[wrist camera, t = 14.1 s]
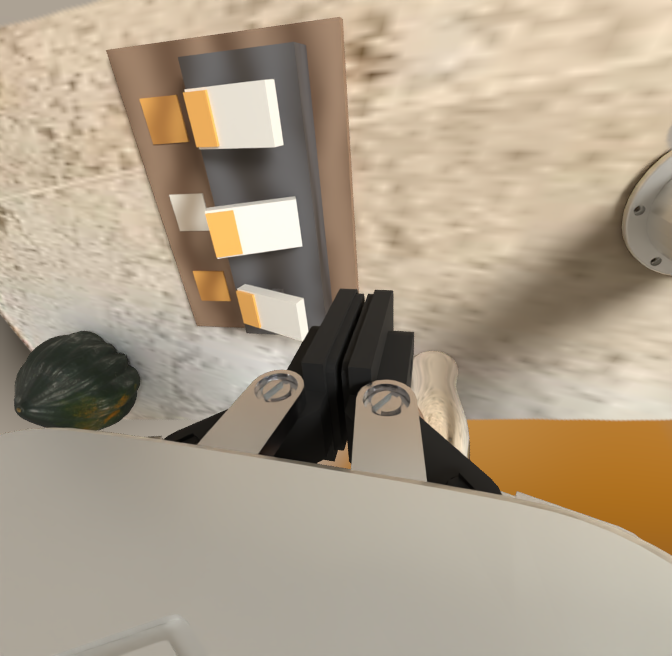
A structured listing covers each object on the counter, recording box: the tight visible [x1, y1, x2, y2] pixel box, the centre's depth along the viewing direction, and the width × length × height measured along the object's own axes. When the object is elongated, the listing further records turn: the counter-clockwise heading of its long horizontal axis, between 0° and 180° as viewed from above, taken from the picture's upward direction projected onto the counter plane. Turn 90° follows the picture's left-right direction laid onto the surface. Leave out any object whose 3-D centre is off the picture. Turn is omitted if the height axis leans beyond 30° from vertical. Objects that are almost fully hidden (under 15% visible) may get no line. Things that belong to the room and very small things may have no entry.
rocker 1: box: [183, 79, 284, 149], centre depth 30 cm, size 8×4×1 cm, turn 94°
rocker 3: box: [236, 284, 308, 341], centre depth 40 cm, size 8×4×2 cm, turn 94°
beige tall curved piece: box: [411, 351, 470, 460], centre depth 42 cm, size 7×7×15 cm
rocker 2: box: [205, 196, 302, 259], centre depth 35 cm, size 8×4×2 cm, turn 95°
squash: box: [14, 331, 140, 431], centre depth 55 cm, size 14×15×15 cm
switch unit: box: [106, 17, 359, 335], centre depth 39 cm, size 22×30×6 cm
